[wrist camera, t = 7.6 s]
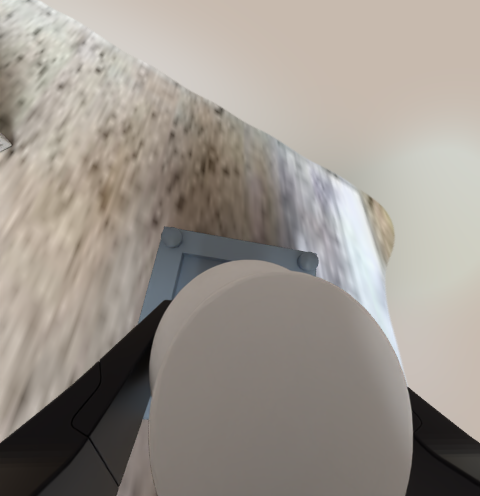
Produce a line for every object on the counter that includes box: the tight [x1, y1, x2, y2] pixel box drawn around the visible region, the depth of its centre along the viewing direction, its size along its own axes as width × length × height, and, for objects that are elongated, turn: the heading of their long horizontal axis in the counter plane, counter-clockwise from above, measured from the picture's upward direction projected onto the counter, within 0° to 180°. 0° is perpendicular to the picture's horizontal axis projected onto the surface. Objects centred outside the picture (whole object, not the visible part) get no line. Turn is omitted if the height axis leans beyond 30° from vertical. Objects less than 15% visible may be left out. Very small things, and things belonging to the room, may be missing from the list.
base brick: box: [138, 226, 319, 420], centre depth 17 cm, size 14×14×5 cm
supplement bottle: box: [148, 260, 413, 496], centre depth 9 cm, size 7×7×13 cm
